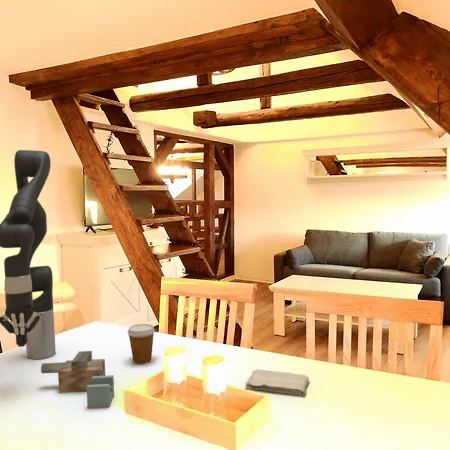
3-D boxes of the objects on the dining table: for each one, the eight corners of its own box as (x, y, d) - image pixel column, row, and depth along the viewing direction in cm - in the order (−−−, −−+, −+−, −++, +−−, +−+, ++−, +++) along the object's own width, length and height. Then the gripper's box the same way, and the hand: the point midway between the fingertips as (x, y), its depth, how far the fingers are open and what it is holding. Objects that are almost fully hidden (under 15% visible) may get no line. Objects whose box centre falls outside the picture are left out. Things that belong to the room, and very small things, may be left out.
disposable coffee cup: (160, 361, 157) (159, 328, 156) (134, 368, 152) (133, 333, 151) (148, 353, 165) (147, 321, 164) (124, 359, 159) (123, 326, 158)
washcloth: (253, 375, 144) (253, 366, 144) (309, 381, 139) (309, 372, 139) (244, 391, 133) (243, 381, 133) (304, 399, 127) (304, 388, 127)
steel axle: (41, 375, 136) (40, 365, 136) (44, 371, 139) (44, 361, 139) (101, 372, 137) (100, 362, 137) (103, 368, 140) (102, 359, 140)
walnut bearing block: (59, 392, 134) (57, 362, 133) (67, 380, 143) (66, 352, 142) (99, 390, 135) (98, 360, 134) (105, 378, 143) (104, 350, 143)
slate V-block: (87, 408, 124) (86, 387, 123) (93, 395, 131) (92, 376, 131) (109, 407, 124) (108, 386, 124) (114, 394, 132) (113, 375, 131)
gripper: (45, 286, 140) (48, 340, 141) (1, 288, 139) (4, 343, 140) (36, 291, 132) (39, 348, 133) (-10, 293, 131) (-6, 351, 132)
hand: (21, 345), depth 137 cm, fingers closed
